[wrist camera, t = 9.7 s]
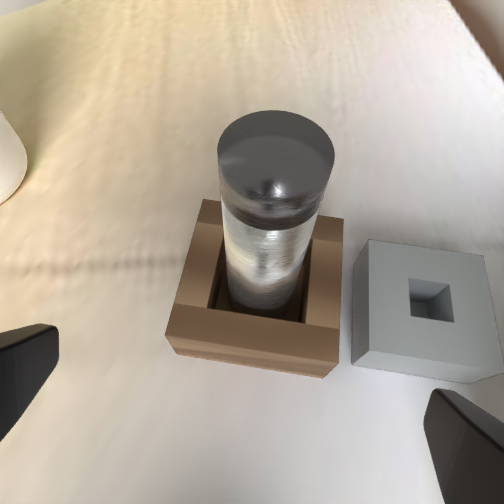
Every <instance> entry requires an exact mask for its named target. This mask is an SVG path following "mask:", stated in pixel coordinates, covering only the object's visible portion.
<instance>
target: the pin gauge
mask: <svg viewBox="0 0 504 504" xmlns="http://www.w3.org/2000/svg"><path fill="white" fill-rule="evenodd" d="M217 152H218V165H219V178H220V190H221V203H222V215H223V228H224V241H225V253H226V266H227V278H228V291H229V302H230V306H231V308H232V310H233V312H234V313H241V314H247V315H253V316H260V317H266V318H272V319H279V320H280V319H281V318H282V317H283V316H284V315H285V313H286V312H287V310H288V307H289V304H290V301H291V298H292V295H293V291H294V288H295V285H296V282H297V279H298V276H299V272H300V269H301V266H302V263H303V260H304V256H305V253H306V250H307V247H308V244H309V241H310V237H311V234H312V231H313V228H314V225H315V221H316V218H317V215H318V212H319V209H320V206H321V202H322V199H323V196H324V193H325V190H326V186H327V183H328V180H329V177H330V174H331V171H332V167H333V164H334V157H335V153H334V147H333V144H332V142H331V140H330V138H329V136H328V135H327V134H326V132H325V131H324V130H323V129H322V128H321V127H320V126H318V125H317V124H316V123H314V122H313V121H311V120H309V119H307V118H305V117H303V116H301V115H298V114H295V113H291V112H286V111H277V110H269V111H260V112H255V113H251V114H248V115H245V116H243V117H241V118H239V119H237V120H236V121H234V122H233V123H232V124H230V125H229V126H228V127H227V128H226V129H225V131H224V132H223V134H222V135H221V137H220V140H219V143H218V150H217Z"/></svg>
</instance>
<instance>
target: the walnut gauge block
mask: <svg viewBox="0 0 504 504" xmlns="http://www.w3.org/2000/svg"><path fill="white" fill-rule="evenodd" d="M343 220H344V219H341V218H334V217H327V216H320V215H317V218H316V221H315V225H314V228H313V231H312V234H311V237H310V241H309V244H308V247H307V250H306V253H305V256H304V260H303V263H302V266H301V269H300V272H299V276H298V279H297V282H296V285H295V288H294V291H293V295H292V298H291V301H290V304H289V307H288V310H287V312H286V313H285V315H284V316H283V317H282V318H281V319H280V320H279V319H272V318H266V317H260V316H253V315H247V314H241V313H234V312H233V310H232V308H231V306H230V302H229V291H228V278H227V266H226V253H225V241H224V228H223V215H222V203H221V202H220V201H213V200H206V199H203V201H202V205H201V208H200V212H199V215H198V219H197V223H196V226H195V230H194V233H193V237H192V240H191V244H190V247H189V251H188V254H187V258H186V261H185V265H184V269H183V272H182V276H181V279H180V283H179V286H178V290H177V293H176V297H175V300H174V304H173V308H172V311H171V315H170V318H169V322H168V325H167V329H166V332H165V336H166V338H167V340H168V341H169V343H170V344H171V346H172V347H173V349H174V351H175V352H176V354H179V355H185V356H191V357H197V358H203V359H209V360H215V361H221V362H227V363H233V364H239V365H245V366H251V367H257V368H263V369H269V370H275V371H281V372H287V373H293V374H299V375H305V376H311V377H317V378H324V377H325V376H326V375H327V374H328V373H329V372H330V371H331V370H332V369H333V368H334V367H335V366H336V365H337V364H338V362H339V334H340V305H341V277H342V248H343Z"/></svg>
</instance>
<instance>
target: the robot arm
mask: <svg viewBox="0 0 504 504" xmlns="http://www.w3.org/2000/svg"><path fill="white" fill-rule="evenodd" d="M58 360H59V332H58V329H57V327H56V326H53V325H47V324H35V325H30V326H26V327H22V328H18V329H14V330H10V331H6V332H2V333H0V442H1V441H2V439H3V438H4V437H5V436H6V435H7V433H8V432H9V431H10V430H11V429H12V427H13V426H14V425H15V424H16V422H17V421H18V420H19V418H20V417H21V416H22V414H23V413H24V412H25V410H26V409H27V407H28V406H29V404H30V403H31V402H32V400H33V399H34V397H35V396H36V394H37V393H38V391H39V390H40V389H41V387H42V386H43V384H44V383H45V381H46V380H47V378H48V377H49V376H50V374H51V373H52V371H53V370H54V368H55V367H56V365H57V363H58ZM424 431H425V434H426V438H427V442H428V446H429V449H430V453H431V457H432V460H433V464H434V468H435V471H436V475H437V479H438V483H439V486H440V489H441V493H442V496H443V499H444V502H445V504H504V423H503V422H501V421H500V420H498V419H496V418H495V417H493V416H492V415H490V414H489V413H487V412H486V411H484V410H483V409H481V408H480V407H478V406H476V405H475V404H473V403H472V402H470V401H469V400H467V399H466V398H464V397H463V396H461V395H459V394H458V393H456V392H455V391H452V390H446V389H440V388H436V389H434V390H433V391H432V393H431V396H430V399H429V403H428V406H427V409H426V413H425V416H424Z"/></svg>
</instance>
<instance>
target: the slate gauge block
mask: <svg viewBox="0 0 504 504" xmlns="http://www.w3.org/2000/svg"><path fill="white" fill-rule="evenodd" d="M352 365H354V366H360V367H367V368H373V369H379V370H385V371H391V372H397V373H403V374H410V375H416V376H422V377H428V378H434V379H440V380H446V381H453V382H459V383H465V384H470V383H473V382H476V381H480V380H483V379H486V378H489V377H492V376H495V375H498V374H501V373H504V362H503V357H502V352H501V347H500V341H499V336H498V331H497V325H496V320H495V315H494V310H493V304H492V299H491V294H490V288H489V283H488V278H487V273H486V267H485V262H484V257H483V256H481V255H474V254H467V253H460V252H453V251H446V250H439V249H432V248H425V247H418V246H411V245H404V244H397V243H390V242H383V241H377V240H370V239H369V240H368V241H367V243H366V245H365V247H364V248H363V250H362V252H361V253H360V255H359V257H358V259H357V260H356V262H355V264H354V267H353V326H352Z"/></svg>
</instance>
